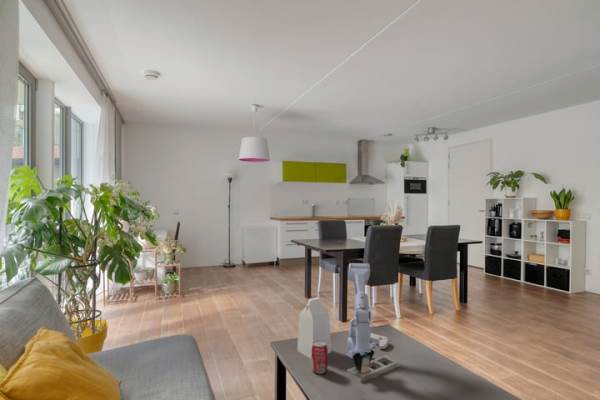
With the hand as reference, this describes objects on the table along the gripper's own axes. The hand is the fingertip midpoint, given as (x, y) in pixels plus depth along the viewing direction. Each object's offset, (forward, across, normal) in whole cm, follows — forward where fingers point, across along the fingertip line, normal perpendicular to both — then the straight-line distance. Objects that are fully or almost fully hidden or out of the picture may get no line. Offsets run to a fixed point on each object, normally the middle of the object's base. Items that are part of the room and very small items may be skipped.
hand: (362, 368), depth 145 cm
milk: (+3, -4, +29) cm, 29 cm away
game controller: (+3, +27, +18) cm, 33 cm away
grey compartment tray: (+3, +7, 0) cm, 8 cm away
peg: (+2, 0, 0) cm, 2 cm away
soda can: (+3, -13, +13) cm, 19 cm away
